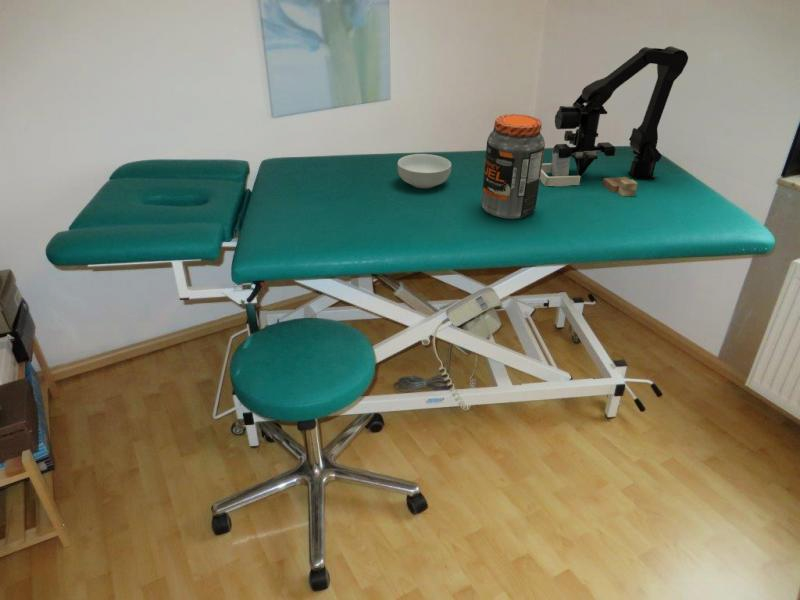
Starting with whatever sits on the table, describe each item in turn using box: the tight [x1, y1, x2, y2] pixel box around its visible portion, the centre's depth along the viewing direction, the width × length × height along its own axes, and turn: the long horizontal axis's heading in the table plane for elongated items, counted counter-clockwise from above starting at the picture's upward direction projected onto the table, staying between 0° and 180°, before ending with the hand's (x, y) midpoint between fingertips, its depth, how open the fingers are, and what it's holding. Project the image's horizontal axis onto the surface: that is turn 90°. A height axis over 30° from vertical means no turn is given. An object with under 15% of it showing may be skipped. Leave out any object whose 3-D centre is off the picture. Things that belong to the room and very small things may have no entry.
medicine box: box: [550, 152, 571, 177], centre depth 194 cm, size 8×4×9 cm, turn 175°
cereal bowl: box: [396, 153, 452, 189], centre depth 189 cm, size 17×17×7 cm
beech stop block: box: [617, 179, 638, 197], centre depth 185 cm, size 4×3×4 cm
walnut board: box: [602, 176, 638, 193], centre depth 190 cm, size 8×7×2 cm
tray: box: [540, 162, 582, 188], centre depth 195 cm, size 11×13×3 cm
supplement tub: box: [481, 113, 546, 220], centre depth 168 cm, size 16×16×26 cm
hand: (579, 175), depth 196 cm, fingers closed
